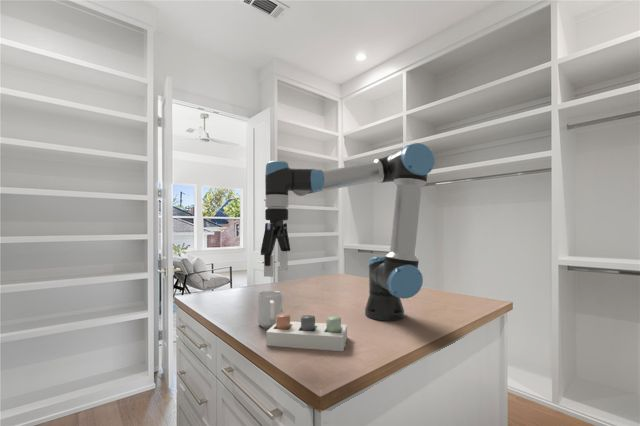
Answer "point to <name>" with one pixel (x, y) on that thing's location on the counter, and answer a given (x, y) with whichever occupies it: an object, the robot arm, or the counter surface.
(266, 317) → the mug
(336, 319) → the button sage
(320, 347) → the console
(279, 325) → the button terracotta
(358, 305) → the counter surface
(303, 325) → the button charcoal
